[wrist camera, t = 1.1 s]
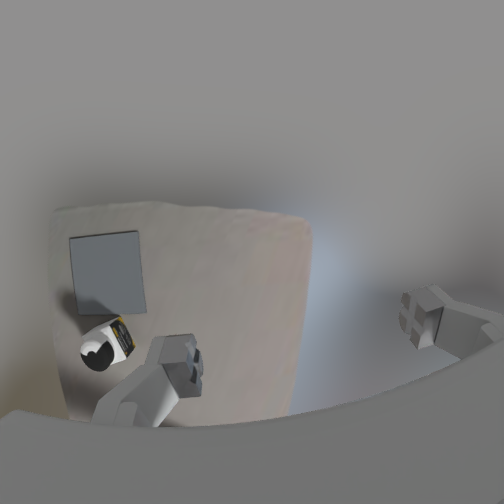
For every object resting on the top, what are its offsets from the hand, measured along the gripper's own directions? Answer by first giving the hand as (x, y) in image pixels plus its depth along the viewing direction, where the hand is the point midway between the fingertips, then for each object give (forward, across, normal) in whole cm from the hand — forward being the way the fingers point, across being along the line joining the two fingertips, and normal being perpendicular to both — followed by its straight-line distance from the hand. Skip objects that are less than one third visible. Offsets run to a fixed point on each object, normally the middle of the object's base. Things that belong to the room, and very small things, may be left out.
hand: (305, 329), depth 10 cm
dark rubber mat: (+40, -31, -13) cm, 52 cm away
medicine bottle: (+36, -32, -25) cm, 55 cm away
